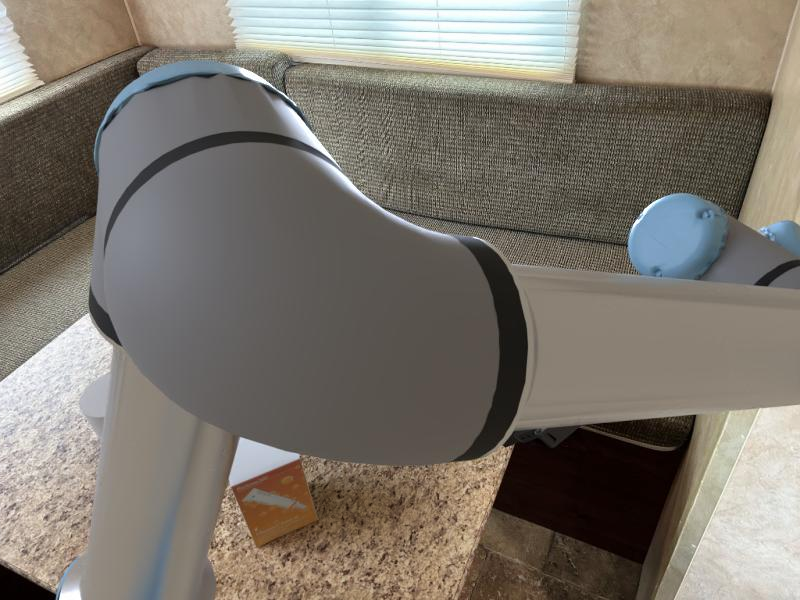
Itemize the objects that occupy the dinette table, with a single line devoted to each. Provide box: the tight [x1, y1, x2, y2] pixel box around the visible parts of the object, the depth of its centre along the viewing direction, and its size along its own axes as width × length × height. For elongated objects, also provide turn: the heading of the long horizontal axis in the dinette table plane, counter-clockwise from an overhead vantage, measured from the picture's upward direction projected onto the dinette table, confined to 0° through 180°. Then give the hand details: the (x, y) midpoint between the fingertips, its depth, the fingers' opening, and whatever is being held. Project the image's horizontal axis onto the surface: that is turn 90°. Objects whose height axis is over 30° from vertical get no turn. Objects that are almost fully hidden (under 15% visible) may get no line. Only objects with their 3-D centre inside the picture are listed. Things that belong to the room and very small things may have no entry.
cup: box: [78, 372, 110, 442], centre depth 82 cm, size 8×8×12 cm
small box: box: [228, 437, 319, 548], centre depth 72 cm, size 8×6×13 cm
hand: (507, 396), depth 77 cm, fingers open, 13 cm apart
